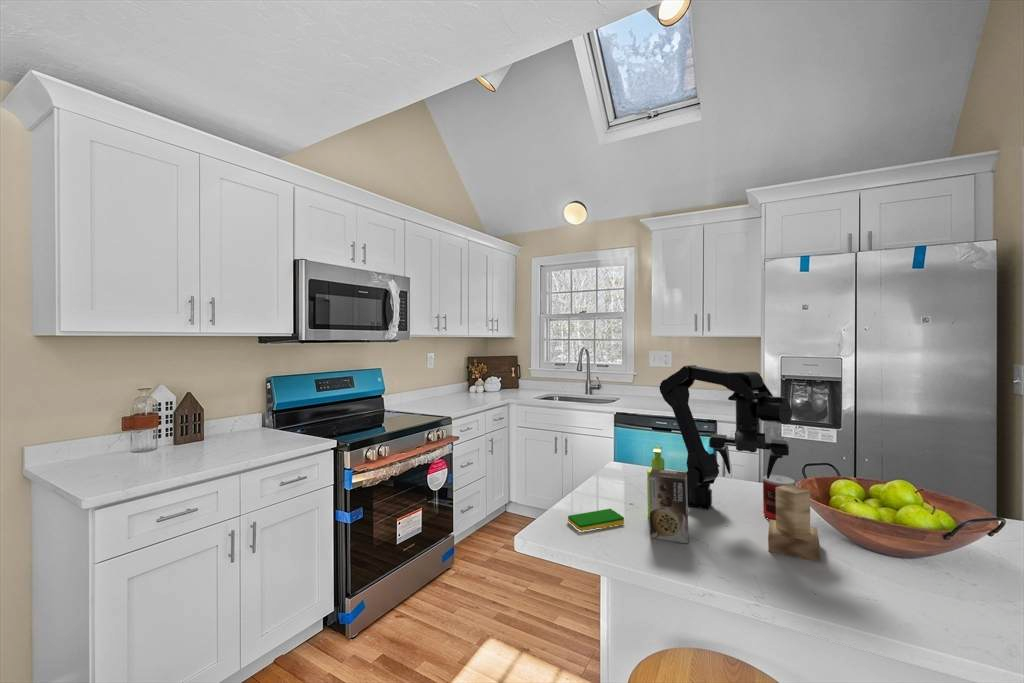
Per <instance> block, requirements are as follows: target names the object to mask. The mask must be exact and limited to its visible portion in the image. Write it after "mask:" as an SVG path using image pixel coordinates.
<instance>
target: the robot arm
mask: <svg viewBox="0 0 1024 683" xmlns="http://www.w3.org/2000/svg"><path fill="white" fill-rule="evenodd" d="M695 381H700V382H703V383H708V384H709V383H710V384H712V385H713V384H714V385H719V386H722V387H724V388H726V389H727V390H729V391H731V392H733V393H732V394H731V395H729V396H728V400H729V401H734V402H735V432H734V438H728V435H727V434H719V433H718V434H717V433H713V434H712V435H711V436H710V437H709V441H708V442H709V448H712V449H714V451H715V452H718V453H719V455H721V458H722V459H723V462H724V465H725V467H726V472H727V473H728V474H729V475H730V474H731V470H732V466H731V459H730V451H729V446H731V447H735V450H736V451H738V452H749V453H756V452H757V451H758V450H759V449H760V450H767V451H768V450H769V456H768V464H767V470H766V475H767V479H769V477H770V475H772V471H773V468H774V466H775V464H776V462H777V460H779V459H783V458H784V457H783V456H790V452H789V449H790V448H789V446H790V445H789V444H790V443H789V442H788V441H787V440H783V439H773V438H771V440H770V442H766V433H765V432H763V433H762V432H761V426H760V425H761V421H762V422H766V423H767V422H768V423H772V424H781V425H788V424H789V423H790V422H791V421H792V418H793V409H792V406H791V404H790V403H789V402H788V397H787V396H773V394H772V392H771V391H770V389H769V388H768V386H767V385H766V384H765V382H764V379H763V377H762V376H761V374H760V372H757V371H725V370H720V369H713V368H708V367H703V366H697V365H696V364H691V365H683V367H681V368H679V370H678V371H676V372H674V373H672V374H671V375H670V376H667V378H665V379H663V380H662V381H661V382H660V384H659V386H658V388H659V392H660V394H661V396H662V399H663V400H664V402H666V403H667V404H668V406H670V407H671V410H673V414H674V417H675V421H676V423H677V426H678V429H679V431H680V434H681V437H682V440H683V443H684V445H685V448H686V451H687V456H686V457H687V458H686V468H687V471H686V472H687V495H688V507H693V508H698V509H699V508H700V509H705V510H709V509H710V507H712V504H713V490H712V488H711V484H714V483H715V481H716V479H717V478H718V476H719V474H720V469H719V468H720V465H719V463H718V460H717V457H716V454H715V453H714V452H713V453H709V452H708V451H707V450H706V448H705V447H704V443H703V441H702V438H701V436H700V433H699V429H698V427H697V425H696V421H695V418H694V416H693V414H692V411H691V408H690V405H689V400H690V390H689V389H690V388H691V387H692V386H693V385H694V383H695ZM760 420H761V421H760Z"/></svg>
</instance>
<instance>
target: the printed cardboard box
mask: <svg viewBox="0 0 1024 683" xmlns="http://www.w3.org/2000/svg"><path fill="white" fill-rule="evenodd" d="M651 469H652V468H651ZM648 479H649V510H650V519H649V538H651V539H654V538H655V539H656V540H662V541H668V542H675V543H682V544H688V541H689V535H690V534H689V508H688V507H689V506H688V495H687V471H680V470H679V471H677V470H668V469H665V470H658V469H652V470H651V472H650V474H649V476H648Z"/></svg>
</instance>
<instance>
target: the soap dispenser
mask: <svg viewBox="0 0 1024 683" xmlns="http://www.w3.org/2000/svg"><path fill="white" fill-rule="evenodd" d="M662 449H663V448H662V446H659V445H658V446H656V445H654V447H653V450H652V451H653V452H652V453H653V454H654V456H653V457H651V468H648V469H647V470H646V472H647V473H646V476H647V478H646V481H647V482H646V484H647V486H646V487H647V518H648V519H649V518H650V510H649V479H648V476H649V474H650V472H651V470H652V469H658V470H666V469H665V459H664V458H663V457H662Z"/></svg>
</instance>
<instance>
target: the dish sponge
mask: <svg viewBox="0 0 1024 683" xmlns="http://www.w3.org/2000/svg"><path fill="white" fill-rule="evenodd" d="M568 521H569V522H570V523H571V524H573V525H574V526H575V527H576V528H577V529H579V530H581V531H583V530H590V529H596V528H604V527H610V526H615V525H621V524H624V525H625V517H624V516H623V515H621V514H619V513H618V512H616V511H615V510H614V509H612V508H606V509H600V510H593V511H588V512H583V513H582V512H581V513H578V514H577V513H576V514H571V515H568V516H567V522H568ZM621 526H622V525H621ZM615 527H616V526H615ZM610 528H611V527H610Z"/></svg>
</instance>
